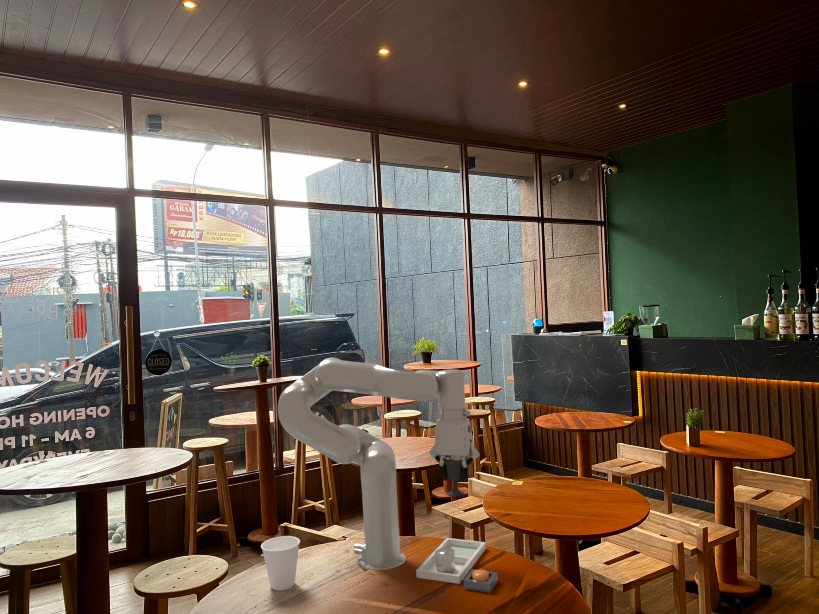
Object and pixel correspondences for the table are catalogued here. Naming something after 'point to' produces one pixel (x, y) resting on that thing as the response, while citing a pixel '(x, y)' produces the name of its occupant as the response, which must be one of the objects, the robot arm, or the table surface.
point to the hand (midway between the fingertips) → (455, 479)
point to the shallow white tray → (463, 560)
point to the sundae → (454, 473)
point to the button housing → (480, 582)
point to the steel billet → (445, 560)
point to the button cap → (480, 575)
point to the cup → (281, 561)
